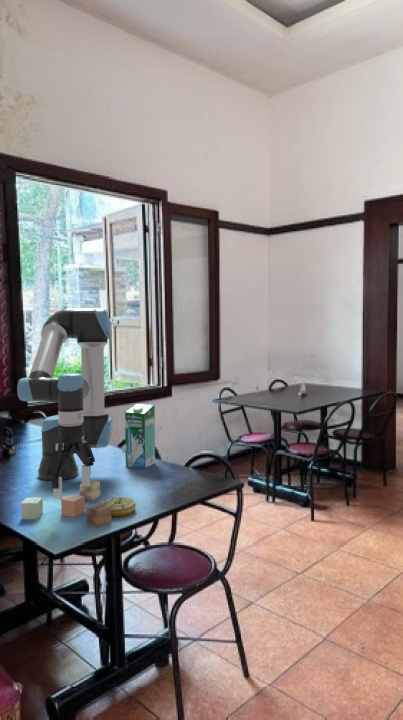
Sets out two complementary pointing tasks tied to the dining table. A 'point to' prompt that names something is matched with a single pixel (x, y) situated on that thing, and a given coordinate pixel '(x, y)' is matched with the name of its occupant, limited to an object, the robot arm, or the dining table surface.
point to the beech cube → (90, 490)
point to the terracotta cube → (72, 505)
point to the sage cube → (31, 508)
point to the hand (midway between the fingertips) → (72, 492)
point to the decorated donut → (120, 505)
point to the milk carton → (140, 436)
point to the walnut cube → (98, 514)
